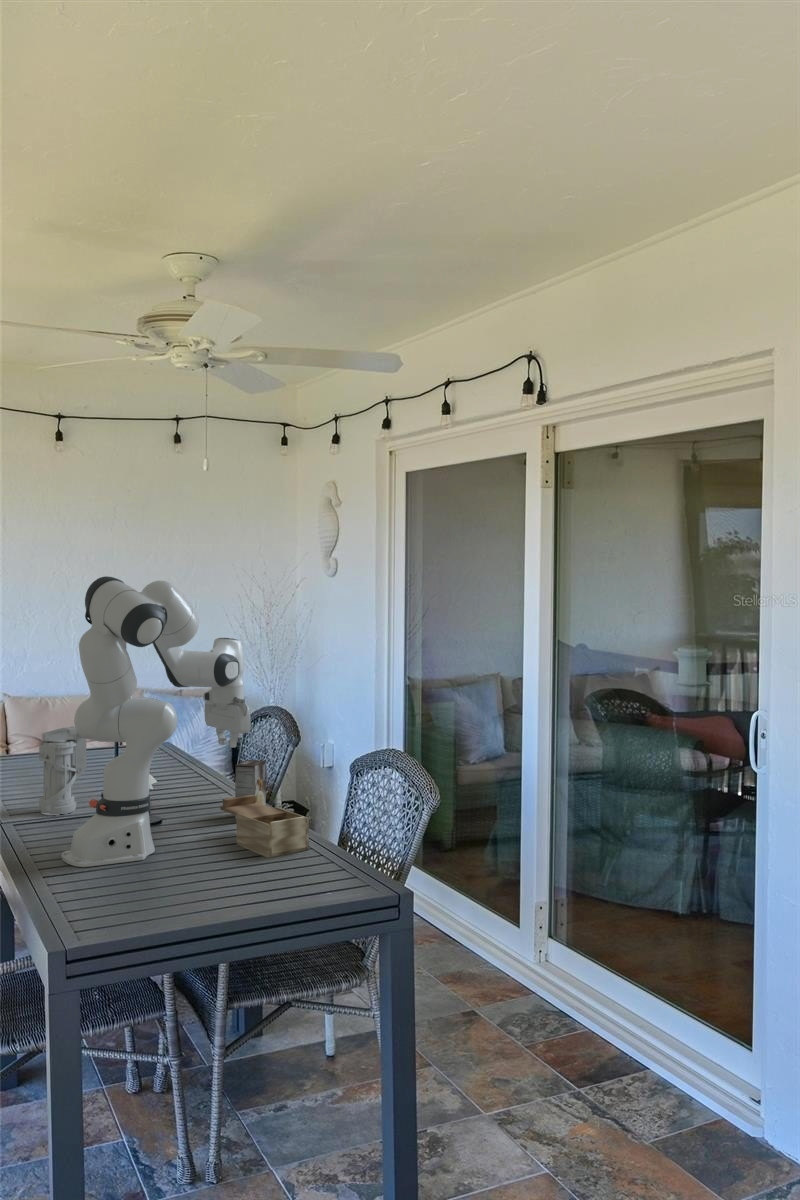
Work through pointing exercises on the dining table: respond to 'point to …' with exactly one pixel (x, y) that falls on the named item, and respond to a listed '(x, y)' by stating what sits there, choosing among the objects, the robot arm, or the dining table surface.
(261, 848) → the crate
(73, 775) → the lantern
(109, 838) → the robot arm
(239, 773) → the coffee box
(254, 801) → the lid
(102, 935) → the dining table surface
